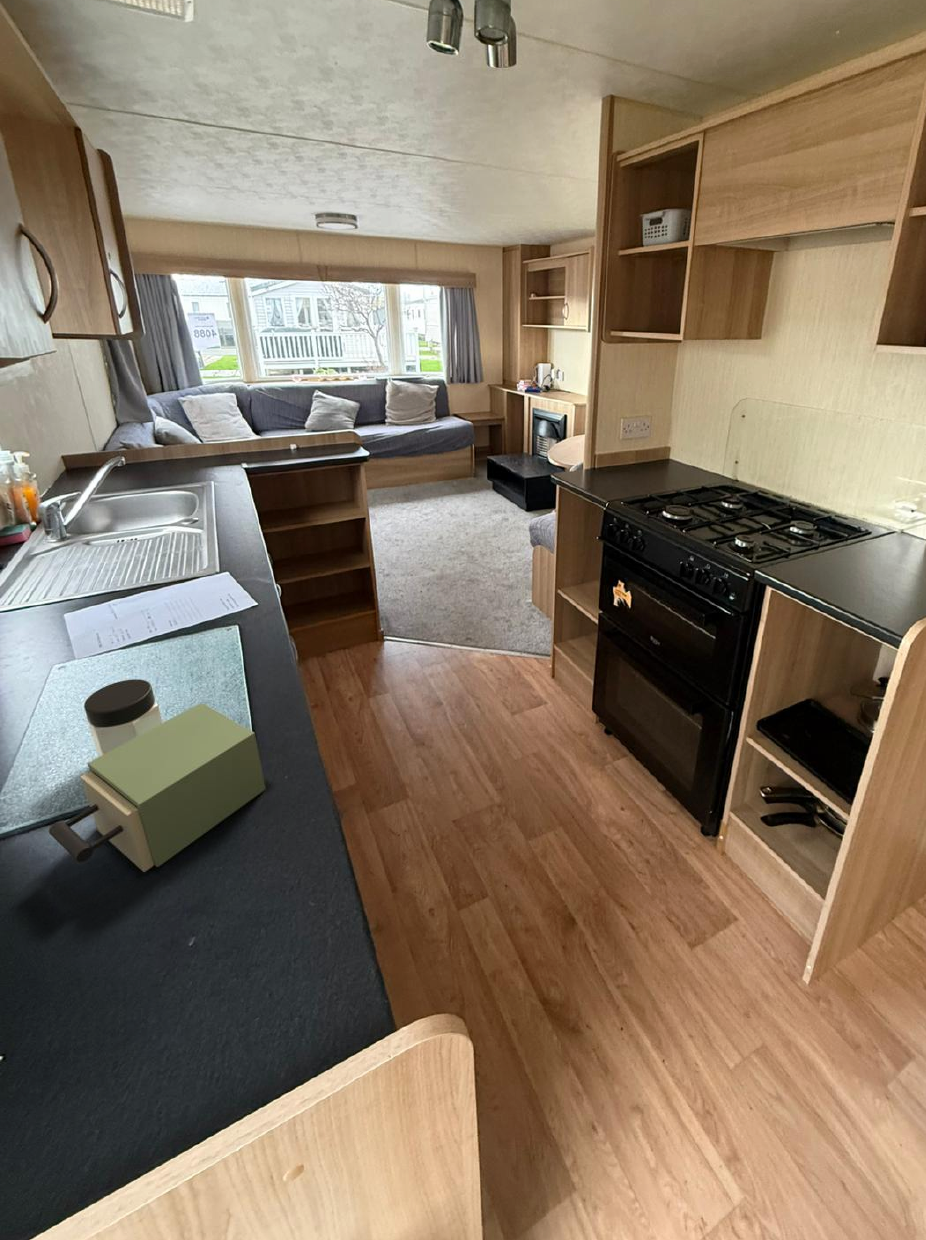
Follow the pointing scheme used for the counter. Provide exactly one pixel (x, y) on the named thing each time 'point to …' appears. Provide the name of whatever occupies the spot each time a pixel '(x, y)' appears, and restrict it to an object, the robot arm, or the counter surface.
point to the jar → (121, 713)
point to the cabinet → (184, 776)
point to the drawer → (106, 825)
